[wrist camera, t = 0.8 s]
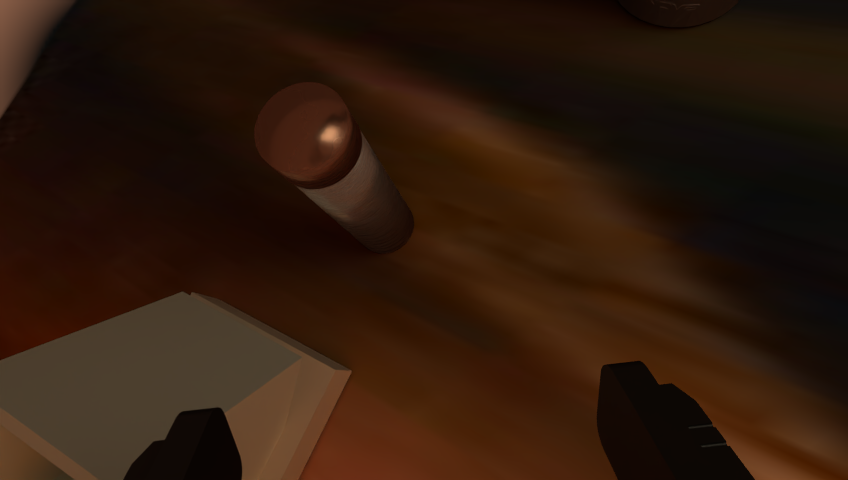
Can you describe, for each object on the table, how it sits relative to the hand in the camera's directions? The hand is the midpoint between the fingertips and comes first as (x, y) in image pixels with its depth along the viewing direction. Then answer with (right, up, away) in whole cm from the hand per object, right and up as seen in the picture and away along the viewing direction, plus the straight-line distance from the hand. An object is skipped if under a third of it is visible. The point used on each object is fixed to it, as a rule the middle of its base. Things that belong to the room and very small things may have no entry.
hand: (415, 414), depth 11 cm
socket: (-12, -8, +21) cm, 26 cm away
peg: (-2, +5, +23) cm, 24 cm away
